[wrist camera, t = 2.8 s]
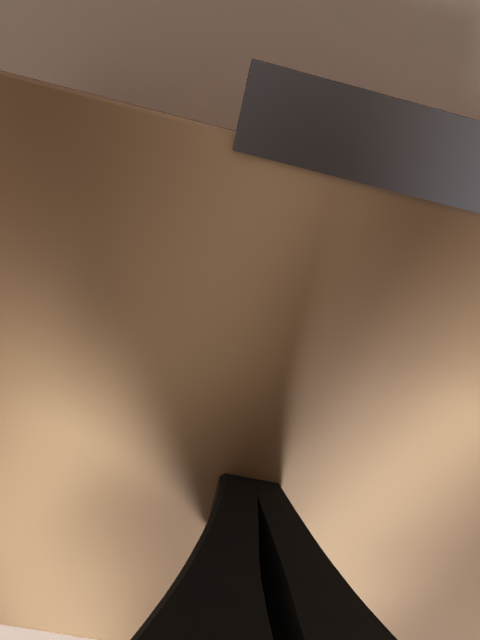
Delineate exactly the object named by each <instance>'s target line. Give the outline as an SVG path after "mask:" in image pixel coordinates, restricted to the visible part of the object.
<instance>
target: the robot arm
mask: <svg viewBox="0 0 480 640" xmlns="http://www.w3.org/2000/svg"><path fill="white" fill-rule="evenodd" d="M130 640H398V639H397V638H396V637H395V636H394V635H393V634H392V633H391V632H390V631H389V630H388V629H387V628H386V627H385V626H384V624H383V623H382V622H381V621H380V620H379V619H378V618H377V617H376V616H375V615H374V613H373V612H372V611H371V610H370V609H369V608H368V607H367V606H366V605H365V603H364V602H363V601H362V600H361V599H360V597H359V596H358V595H357V594H356V593H355V592H354V590H353V589H352V588H351V587H350V585H349V584H348V583H347V581H346V580H345V579H344V578H343V576H342V575H341V574H340V573H339V571H338V570H337V569H336V567H335V566H334V565H333V564H332V562H331V561H330V559H329V558H328V557H327V555H326V554H325V553H324V551H323V550H322V548H321V547H320V546H319V544H318V543H317V541H316V540H315V539H314V537H313V536H312V534H311V533H310V531H309V530H308V528H307V527H306V525H305V524H304V522H303V521H302V519H301V518H300V516H299V515H298V513H297V512H296V510H295V508H294V507H293V505H292V504H291V502H290V501H289V499H288V497H287V496H286V494H285V493H284V491H283V490H282V488H281V486H280V485H279V483H275V482H269V481H264V480H258V479H253V478H248V477H243V476H237V475H232V474H227V473H225V474H223V475H221V476H219V480H218V484H217V488H216V492H215V496H214V500H213V504H212V508H211V512H210V516H209V519H208V521H207V524H206V526H205V528H204V530H203V532H202V534H201V536H200V538H199V540H198V542H197V543H196V545H195V547H194V549H193V551H192V553H191V554H190V556H189V558H188V560H187V561H186V563H185V565H184V566H183V568H182V570H181V571H180V573H179V574H178V576H177V577H176V579H175V580H174V582H173V583H172V585H171V586H170V588H169V589H168V591H167V592H166V594H165V595H164V597H163V598H162V599H161V601H160V602H159V603H158V605H157V606H156V607H155V609H154V610H153V611H152V613H151V614H150V615H149V617H148V618H147V619H146V621H145V622H144V623H143V624H142V626H141V627H140V628H139V629H138V631H137V632H136V633H135V634H134V636H133V637H132V638H131V639H130Z"/></svg>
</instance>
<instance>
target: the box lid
mask: <svg viewBox="0 0 480 640" xmlns="http://www.w3.org/2000/svg"><path fill="white" fill-rule="evenodd" d="M225 473H227V474H232V475H237V476H243V477H248V478H253V479H258V480H264V481H269V482H275V483H279V485H280V486H281V488H282V490H283V491H284V493H285V494H286V496H287V497H288V499H289V501H290V502H291V504H292V505H293V507H294V508H295V510H296V512H297V513H298V515H299V516H300V518H301V519H302V521H303V522H304V524H305V525H306V527H307V528H308V530H309V531H310V533H311V534H312V536H313V537H314V539H315V540H316V541H317V543H318V544H319V546H320V547H321V548H322V550H323V551H324V553H325V554H326V555H327V557H328V558H329V559H330V561H331V562H332V564H333V565H334V566H335V567H336V569H337V570H338V571H339V573H340V574H341V575H342V576H343V578H344V579H345V580H346V581H347V583H348V584H349V585H350V587H351V588H352V589H353V590H354V592H355V593H356V594H357V595H358V596H359V597H360V599H361V600H362V601H363V602H364V603H365V605H366V606H367V607H368V608H369V609H370V610H371V611H372V612H373V613H374V615H375V616H376V617H377V618H378V619H379V620H380V621H381V622H382V623H383V624H384V626H385V627H386V628H387V629H388V630H389V631H390V632H391V633H392V634H393V635H394V636H395V637H396V638H397V639H398V640H480V121H479V120H475V119H471V118H468V117H464V116H460V115H457V114H453V113H449V112H446V111H442V110H438V109H435V108H431V107H427V106H424V105H420V104H416V103H413V102H409V101H406V100H402V99H398V98H395V97H391V96H387V95H384V94H380V93H376V92H373V91H369V90H365V89H362V88H358V87H354V86H351V85H347V84H343V83H340V82H336V81H332V80H329V79H325V78H321V77H318V76H314V75H310V74H307V73H303V72H299V71H296V70H292V69H288V68H285V67H281V66H277V65H274V64H270V63H267V62H263V61H259V60H256V59H252V61H251V65H250V70H249V75H248V79H247V84H246V89H245V93H244V98H243V102H242V107H241V112H240V116H239V121H238V126H237V130H236V131H232V130H228V129H224V128H220V127H216V126H212V125H209V124H205V123H201V122H197V121H193V120H189V119H185V118H182V117H178V116H174V115H170V114H166V113H162V112H158V111H155V110H151V109H147V108H143V107H139V106H135V105H131V104H128V103H124V102H120V101H116V100H112V99H108V98H104V97H100V96H97V95H93V94H89V93H85V92H81V91H77V90H73V89H70V88H66V87H62V86H58V85H54V84H50V83H46V82H43V81H39V80H35V79H31V78H27V77H23V76H19V75H16V74H12V73H8V72H4V71H0V624H2V625H8V626H15V627H21V628H27V629H33V630H39V631H46V632H52V633H58V634H64V635H71V636H77V637H83V638H89V639H95V640H130V639H131V638H132V637H133V636H134V634H135V633H136V632H137V631H138V629H139V628H140V627H141V626H142V624H143V623H144V622H145V621H146V619H147V618H148V617H149V615H150V614H151V613H152V611H153V610H154V609H155V607H156V606H157V605H158V603H159V602H160V601H161V599H162V598H163V597H164V595H165V594H166V592H167V591H168V589H169V588H170V586H171V585H172V583H173V582H174V580H175V579H176V577H177V576H178V574H179V573H180V571H181V570H182V568H183V566H184V565H185V563H186V561H187V560H188V558H189V556H190V554H191V553H192V551H193V549H194V547H195V545H196V543H197V542H198V540H199V538H200V536H201V534H202V532H203V530H204V528H205V526H206V524H207V521H208V519H209V516H210V512H211V508H212V504H213V500H214V496H215V492H216V488H217V484H218V480H219V476H221V475H223V474H225Z"/></svg>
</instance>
